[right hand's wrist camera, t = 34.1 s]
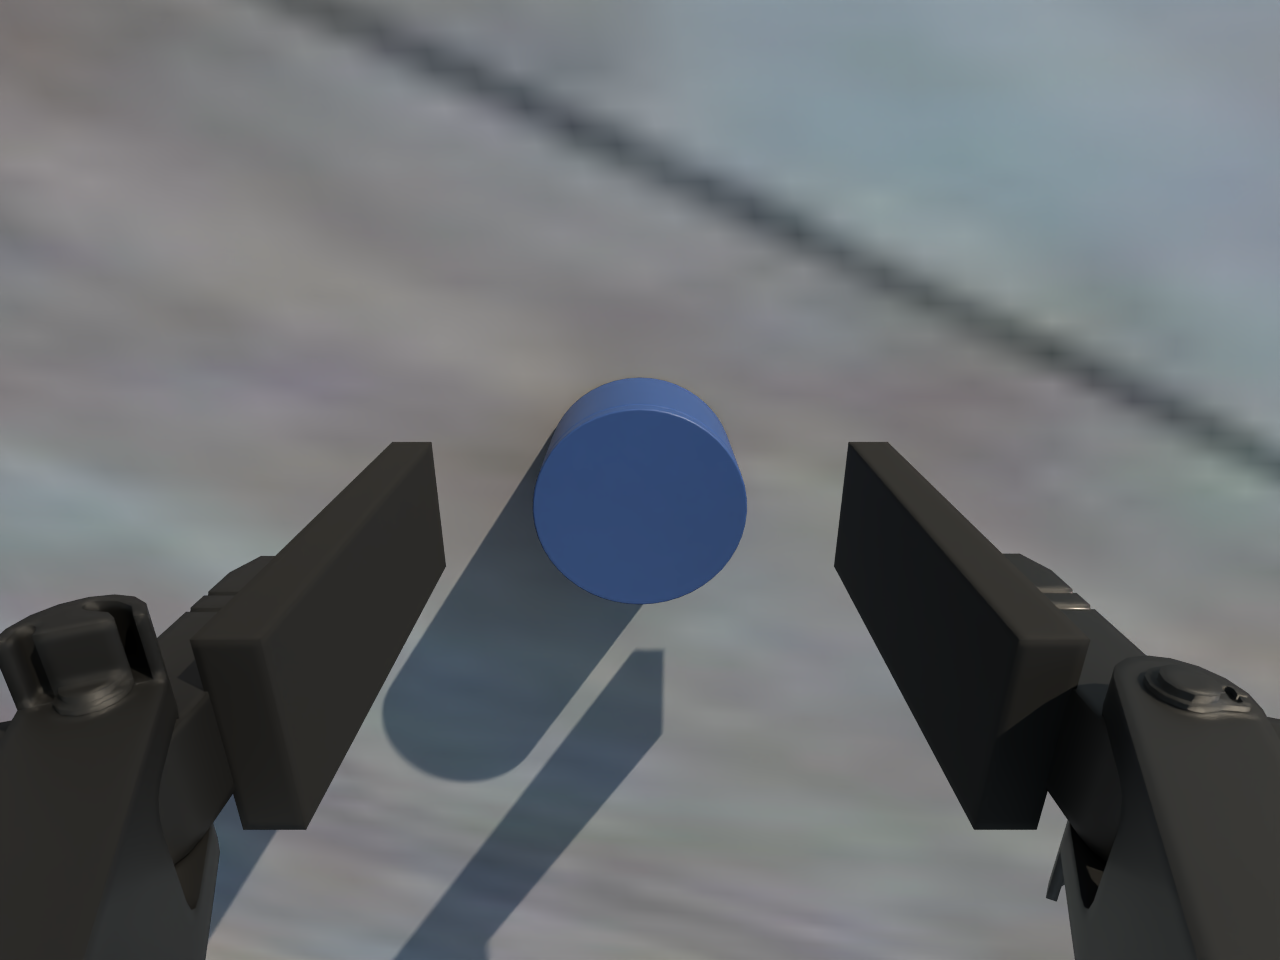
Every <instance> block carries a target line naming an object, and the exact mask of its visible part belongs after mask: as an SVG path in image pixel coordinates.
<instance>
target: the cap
mask: <svg viewBox="0 0 1280 960" xmlns="http://www.w3.org/2000/svg"><path fill="white" fill-rule="evenodd" d="M746 514H747V497H746V491H745V485H744V482H743V479H742V476H741V473H740V470H739V467H738V464H737V462H736V459H735V456H734V454H733V451H732V448H731V446H730V443H729V440H728V437H727V435H726V432H725V430H724V428H723V426H722V424H721V422H720V421H719V419H718V418H717V416H716V415H715V413H714V412H713V411H712V410H711V409H710V408H709V407H708V406H707V404H705V403H704V402H703V401H702V400H701V399H700V398H698V397H697V396H696V395H694V394H693V393H691V392H690V391H688V390H686V389H684V388H682V387H680V386H678V385H676V384H673V383H669V382H666V381H663V380H657V379H652V378H628V379H622V380H617V381H613V382H610V383H607V384H604V385H602V386H600V387H598V388H596V389H594V390H592V391H590V392H589V393H587V394H586V395H584V396H583V397H581V398H580V399H579V400H578V401H577V402H575V403H574V404H573V405H572V406H571V407H570V409H569V410H568V411H567V412H566V413H565V414H564V416H563V417H562V419H561V420H560V422H559V424H558V425H557V428H556V430H555V432H554V434H553V436H552V439H551V442H550V445H549V447H548V450H547V453H546V455H545V458H544V461H543V463H542V466H541V469H540V471H539V474H538V477H537V481H536V484H535V488H534V495H533V517H534V524H535V528H536V532H537V535H538V538H539V540H540V542H541V545H542V547H543V549H544V551H545V552H546V554H547V556H548V557H549V559H550V560H551V561H552V563H553V564H554V565H555V566H556V568H557V569H558V570H559V571H560V572H561V573H562V574H563V575H564V576H565V577H566V578H567V579H569V580H570V581H572V582H573V583H574V584H576V585H577V586H578V587H580V588H582V589H584V590H585V591H587V592H589V593H591V594H594V595H596V596H598V597H601V598H604V599H607V600H611V601H615V602H621V603H627V604H653V603H659V602H665V601H669V600H672V599H676V598H679V597H681V596H684V595H686V594H688V593H691V592H693V591H694V590H696V589H698V588H699V587H701V586H703V585H704V584H705V583H707V582H708V581H709V580H711V579H712V578H713V577H714V576H715V575H716V574H717V573H718V572H719V571H721V570H722V568H723V567H724V566H725V565H726V563H727V562H728V561H729V560H730V558H731V557H732V555H733V553H734V552H735V550H736V548H737V546H738V544H739V542H740V539H741V537H742V534H743V530H744V527H745V522H746Z"/></svg>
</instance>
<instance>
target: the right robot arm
mask: <svg viewBox="0 0 1280 960" xmlns="http://www.w3.org/2000/svg"><path fill="white" fill-rule="evenodd" d="M445 567H446V563H445V554H444V546H443V537H442V528H441V520H440V511H439V503H438V494H437V486H436V477H435V469H434V460H433V452H432V443H431V442H392V443H391V444H390V445H389V446H388V447H387V448H386V449H385V450H384V451H383V452H382V453H381V454H380V455H379V456H378V457H377V458H376V459H375V460H374V461H372V462H371V463H370V464H369V465H368V466H367V467H366V468H365V469H364V470H363V471H362V472H361V473H360V474H359V475H358V476H357V477H356V478H355V479H354V480H353V481H352V482H351V483H350V484H349V485H348V486H347V487H346V488H345V489H344V490H343V491H342V492H341V493H340V494H339V495H338V496H337V497H336V498H334V499H333V500H332V501H331V502H330V503H329V504H328V505H327V506H326V507H325V508H324V509H323V510H322V511H321V512H320V513H319V514H318V515H317V516H316V517H315V518H314V519H313V520H312V521H311V522H310V523H309V524H308V525H307V526H306V527H305V528H304V529H303V530H302V531H301V532H300V533H299V534H298V535H296V536H295V537H294V538H293V539H292V540H291V541H290V542H289V543H288V544H287V545H286V546H285V547H284V548H283V549H282V550H281V551H280V552H279V553H278V554H277V555H276V556H260V557H258V558H256V559H255V560H253V561H251V562H249V563H247V564H245V565H243V566H241V567H239V568H237V569H235V570H233V571H232V572H230V573H229V574H227V575H226V576H225V577H224V578H223V579H222V580H221V581H220V582H219V583H217V584H216V585H215V586H214V587H213V588H212V589H211V590H210V591H209V592H208V596H203V597H202V598H201V599H200V600H199V601H198V602H196V603H195V604H194V605H193V606H192V607H191V611H190V612H185V613H184V614H183V615H182V616H181V617H180V618H179V619H178V620H177V621H175V622H174V623H173V624H172V625H171V626H170V627H169V628H168V629H167V630H166V631H164V632H163V633H162V634H161V635H160V636H159V637H158V638H157V637H156V634H155V631H154V627H153V624H152V621H151V618H150V614H149V611H148V608H147V604H146V603H145V602H143V601H141V600H140V599H138V598H136V597H134V596H124V595H105V596H95V597H87V598H83V599H79V600H75V601H71V602H67V603H63V604H59V605H56V606H53V607H51V608H48V609H46V610H43V611H40V612H38V613H35V614H32V615H30V616H28V617H26V618H25V619H23V620H21V621H19V622H17V623H16V624H14V625H12V626H10V627H8V628H7V629H5V630H4V631H3V632H2V633H1V634H0V669H1V671H2V674H3V676H4V679H5V681H6V683H7V686H8V688H9V691H10V693H11V696H12V698H13V700H14V703H15V705H16V708H17V710H18V711H17V712H16V714H15V716H14V718H13V719H12V721H7V722H1V723H0V960H205V959H206V951H207V944H208V936H209V929H210V922H211V914H212V907H213V899H214V892H215V885H216V877H217V870H218V862H219V855H220V850H219V844H218V838H217V834H216V831H215V828H214V824H213V822H214V820H215V819H216V817H217V816H218V815H219V813H220V812H221V810H222V809H223V807H224V806H225V804H226V803H227V801H228V800H229V798H230V797H231V796H232V794H233V795H234V798H235V802H236V805H237V809H238V812H239V816H240V819H241V823H242V826H243V830H306V829H307V827H308V825H309V823H310V821H311V819H312V817H313V815H314V813H315V812H316V810H317V808H318V806H319V804H320V802H321V800H322V798H323V797H324V795H325V793H326V791H327V789H328V787H329V785H330V783H331V781H332V780H333V778H334V776H335V774H336V772H337V770H338V768H339V766H340V765H341V763H342V761H343V759H344V757H345V755H346V753H347V751H348V750H349V748H350V746H351V744H352V742H353V740H354V738H355V736H356V734H357V733H358V731H359V729H360V727H361V725H362V723H363V721H364V719H365V718H366V716H367V714H368V712H369V710H370V708H371V706H372V704H373V702H374V701H375V699H376V697H377V695H378V693H379V691H380V689H381V687H382V686H383V684H384V682H385V680H386V678H387V676H388V674H389V672H390V670H391V669H392V667H393V665H394V663H395V661H396V659H397V657H398V655H399V654H400V652H401V650H402V648H403V646H404V644H405V642H406V640H407V639H408V637H409V635H410V633H411V631H412V629H413V627H414V625H415V623H416V622H417V620H418V618H419V616H420V614H421V612H422V610H423V608H424V607H425V605H426V603H427V601H428V599H429V597H430V595H431V593H432V591H433V590H434V588H435V586H436V584H437V582H438V580H439V578H440V576H441V575H442V573H443V571H444V569H445ZM834 567H835V569H836V571H837V573H838V575H839V576H840V578H841V580H842V582H843V584H844V586H845V588H846V590H847V591H848V593H849V595H850V597H851V599H852V601H853V603H854V605H855V606H856V608H857V610H858V612H859V614H860V616H861V618H862V620H863V622H864V623H865V625H866V627H867V629H868V631H869V633H870V635H871V637H872V638H873V640H874V642H875V644H876V646H877V648H878V650H879V652H880V654H881V655H882V657H883V659H884V661H885V663H886V665H887V667H888V669H889V670H890V672H891V674H892V676H893V678H894V680H895V682H896V684H897V686H898V687H899V689H900V691H901V693H902V695H903V697H904V699H905V701H906V702H907V704H908V706H909V708H910V710H911V712H912V714H913V716H914V718H915V719H916V721H917V723H918V725H919V727H920V729H921V731H922V733H923V734H924V736H925V738H926V740H927V742H928V744H929V746H930V748H931V749H932V751H933V753H934V755H935V757H936V759H937V761H938V763H939V765H940V766H941V768H942V770H943V772H944V774H945V776H946V778H947V780H948V781H949V783H950V785H951V787H952V789H953V791H954V793H955V795H956V797H957V798H958V800H959V802H960V804H961V806H962V808H963V810H964V812H965V813H966V815H967V817H968V819H969V821H970V823H971V825H972V827H973V829H974V830H1037V827H1038V823H1039V819H1040V816H1041V812H1042V809H1043V805H1044V802H1045V798H1046V795H1047V791H1048V792H1049V793H1050V795H1051V796H1052V798H1053V799H1054V801H1055V802H1056V803H1057V805H1058V806H1059V808H1060V809H1061V811H1062V812H1063V814H1064V815H1065V816H1066V818H1067V819H1068V821H1067V824H1066V828H1065V831H1064V834H1063V838H1062V841H1061V844H1060V847H1059V851H1058V854H1057V857H1056V861H1055V864H1054V867H1053V870H1052V874H1051V877H1050V880H1049V884H1048V889H1047V895H1046V898H1047V899H1051V900H1054V901H1057V899H1058V896H1059V893H1060V889H1061V886H1063V885H1065V890H1066V897H1067V904H1068V912H1069V919H1070V927H1071V934H1072V941H1073V949H1074V956H1075V960H1280V719H1275V718H1270V717H1267V716H1266V714H1265V713H1264V711H1263V709H1262V708H1261V707H1260V706H1259V705H1258V704H1257V703H1256V701H1255V700H1254V699H1253V698H1252V697H1251V696H1250V695H1249V694H1248V693H1247V692H1245V691H1244V690H1242V689H1241V688H1239V687H1238V686H1236V685H1235V684H1233V683H1232V682H1230V681H1229V680H1227V679H1226V678H1223V677H1221V676H1219V675H1217V674H1215V673H1212V672H1210V671H1208V670H1206V669H1203V668H1201V667H1199V666H1196V665H1192V664H1189V663H1185V662H1182V661H1178V660H1175V659H1171V658H1163V657H1155V656H1146V655H1145V654H1144V653H1143V652H1142V651H1141V650H1139V649H1138V648H1137V647H1136V646H1135V645H1134V644H1133V643H1132V642H1131V641H1129V640H1128V639H1127V638H1126V637H1125V636H1124V635H1123V634H1122V633H1121V632H1119V631H1118V630H1117V629H1116V628H1115V627H1114V626H1113V625H1112V624H1111V623H1109V622H1108V621H1107V620H1106V619H1105V618H1104V617H1103V616H1102V615H1101V614H1099V613H1098V612H1097V611H1096V610H1095V609H1090V605H1089V604H1088V603H1087V602H1086V601H1085V600H1084V599H1083V598H1082V597H1080V596H1079V595H1078V594H1077V593H1073V592H1072V588H1070V587H1069V586H1068V585H1067V584H1066V583H1065V582H1064V581H1063V580H1062V579H1060V578H1059V577H1058V576H1057V575H1056V574H1055V573H1054V572H1053V571H1051V570H1050V569H1048V568H1046V567H1044V566H1042V565H1040V564H1038V563H1036V562H1034V561H1033V560H1031V559H1029V558H1027V557H1025V556H1023V555H1021V554H1002V553H1001V552H1000V551H999V550H998V549H997V548H996V547H995V546H994V545H993V544H992V543H991V542H990V541H989V540H988V539H987V538H986V537H985V536H984V535H983V534H981V533H980V532H979V531H978V530H977V529H976V528H975V527H974V526H973V525H972V524H971V523H970V522H969V521H968V520H967V519H966V518H965V517H964V516H963V515H962V514H961V513H960V512H959V511H958V510H957V509H956V508H955V507H954V506H953V505H952V504H951V503H950V502H949V501H948V500H947V499H946V498H945V497H943V496H942V495H941V494H940V493H939V492H938V491H937V490H936V489H935V488H934V487H933V486H932V485H931V484H930V483H929V482H928V481H927V480H926V479H925V478H924V477H923V476H922V475H921V474H920V473H919V472H918V471H917V470H916V469H915V468H914V467H913V466H912V465H911V464H910V463H909V462H908V461H906V460H905V459H904V458H903V457H902V456H901V455H900V454H899V453H898V452H897V451H896V450H895V449H894V448H893V447H892V446H891V445H890V444H889V443H888V442H849V443H848V452H847V460H846V469H845V477H844V486H843V494H842V503H841V511H840V520H839V529H838V537H837V546H836V554H835V563H834Z"/></svg>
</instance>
